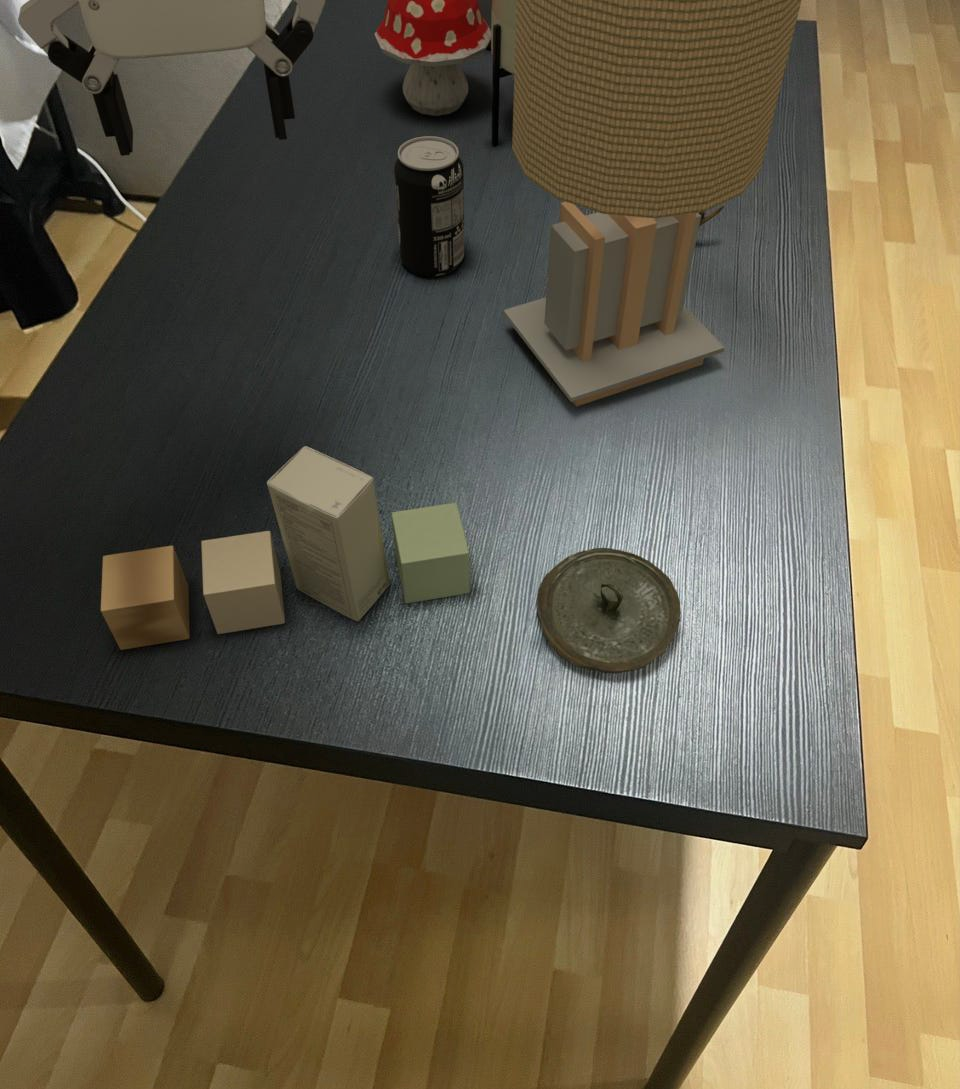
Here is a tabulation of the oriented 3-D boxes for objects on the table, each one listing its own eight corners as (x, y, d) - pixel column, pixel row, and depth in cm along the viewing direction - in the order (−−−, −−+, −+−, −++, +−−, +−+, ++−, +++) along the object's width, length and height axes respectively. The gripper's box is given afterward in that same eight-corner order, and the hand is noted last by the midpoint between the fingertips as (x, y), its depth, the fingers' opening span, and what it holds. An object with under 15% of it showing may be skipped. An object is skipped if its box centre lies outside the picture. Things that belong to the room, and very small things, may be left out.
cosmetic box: (391, 585, 76) (379, 477, 67) (356, 625, 74) (339, 520, 65) (326, 551, 79) (305, 441, 69) (290, 589, 76) (264, 481, 67)
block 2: (217, 634, 74) (203, 594, 70) (215, 581, 77) (201, 540, 73) (285, 623, 74) (275, 583, 70) (280, 571, 77) (270, 530, 73)
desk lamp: (567, 446, 86) (610, 23, 59) (471, 316, 97) (470, -91, 70) (755, 382, 91) (875, -34, 64) (644, 265, 102) (706, -131, 75)
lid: (658, 578, 79) (660, 527, 76) (697, 664, 71) (701, 610, 68) (527, 598, 78) (524, 547, 75) (552, 686, 70) (549, 634, 67)
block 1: (120, 650, 73) (100, 611, 69) (121, 596, 76) (102, 555, 72) (189, 639, 73) (174, 599, 69) (188, 585, 76) (173, 544, 72)
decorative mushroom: (358, 114, 122) (345, -17, 110) (417, 67, 129) (411, -61, 118) (456, 143, 117) (454, 10, 106) (511, 92, 125) (515, -37, 113)
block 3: (405, 604, 75) (401, 563, 71) (395, 553, 78) (391, 511, 75) (469, 593, 76) (469, 552, 72) (457, 543, 79) (456, 502, 75)
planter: (584, 178, 113) (605, -44, 95) (466, 139, 118) (464, -78, 100) (643, 120, 121) (672, -94, 103) (529, 86, 126) (539, -123, 108)
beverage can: (403, 241, 105) (396, 132, 96) (465, 242, 105) (464, 134, 95) (398, 279, 101) (390, 170, 91) (462, 280, 101) (461, 171, 91)
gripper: (297, -215, 54) (333, 95, 67) (-37, -197, 52) (68, 121, 65) (311, -171, 49) (346, 153, 62) (-56, -148, 47) (61, 183, 60)
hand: (204, 136), depth 64 cm, fingers open, 9 cm apart
